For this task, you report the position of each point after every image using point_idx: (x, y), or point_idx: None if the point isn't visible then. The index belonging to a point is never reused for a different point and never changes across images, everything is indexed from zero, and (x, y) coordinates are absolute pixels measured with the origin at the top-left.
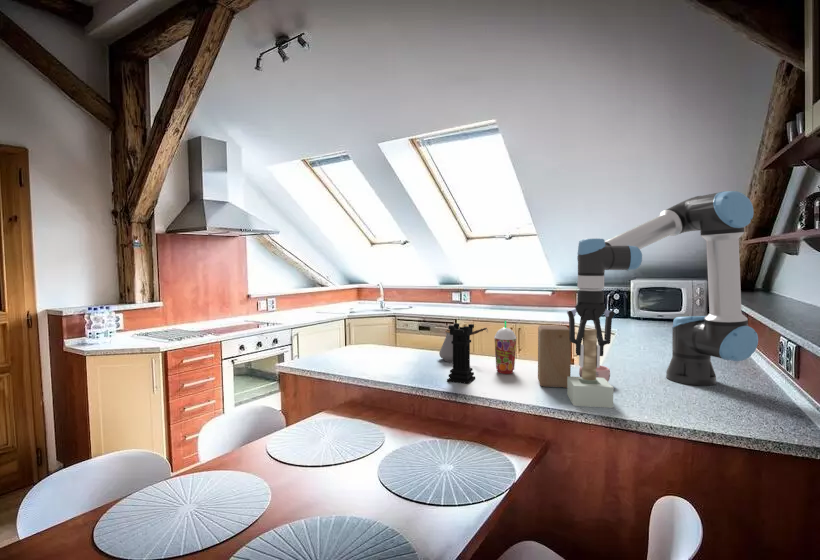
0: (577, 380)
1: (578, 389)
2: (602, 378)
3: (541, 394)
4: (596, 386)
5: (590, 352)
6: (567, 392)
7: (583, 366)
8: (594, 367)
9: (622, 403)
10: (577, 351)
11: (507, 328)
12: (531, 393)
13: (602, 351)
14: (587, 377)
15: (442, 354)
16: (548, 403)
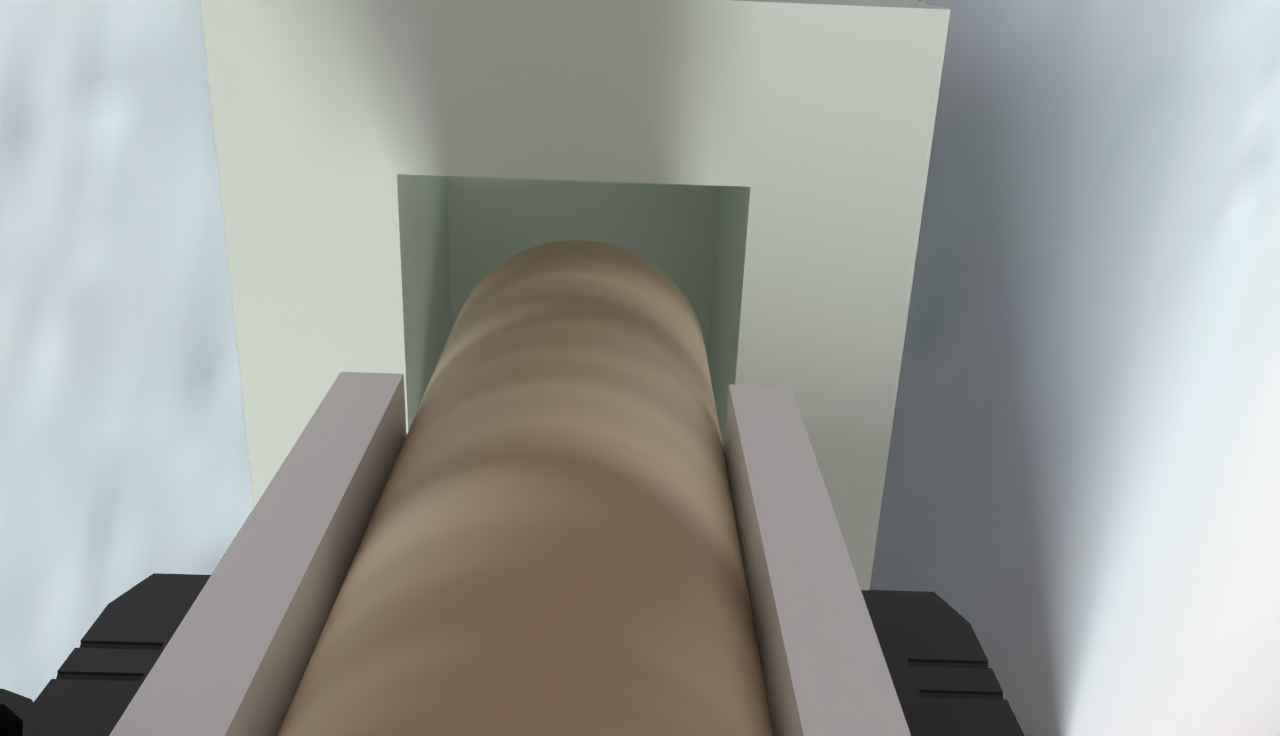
0: None
1: (848, 2)
2: None
3: (1152, 462)
4: (515, 17)
5: (553, 529)
6: None
7: (714, 426)
8: (466, 358)
9: (139, 199)
10: (964, 671)
11: None
12: (1273, 488)
13: (90, 673)
14: (635, 265)
15: None
16: (1198, 66)
